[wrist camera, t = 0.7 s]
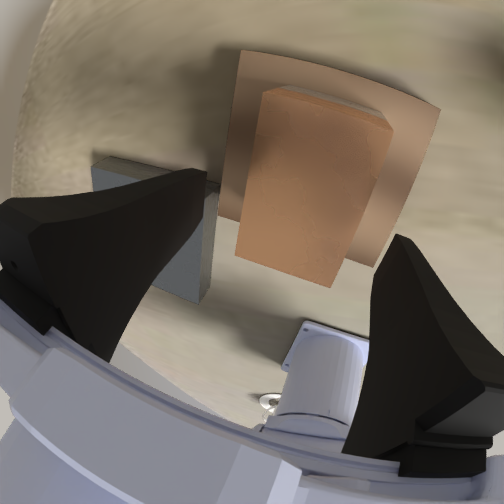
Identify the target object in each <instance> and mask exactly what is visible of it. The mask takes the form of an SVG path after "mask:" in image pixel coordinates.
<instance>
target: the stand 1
mask: <svg viewBox="0 0 504 504" xmlns="http://www.w3.org/2000/svg"><path fill="white" fill-rule="evenodd" d="M171 172H174V171H170V170H166V169H162V168H158V167H154V166H150V165H146V164H142V163H137V162H133V161H129V160H125V159H120V158H116V157H111V156H109V157H107V158H106V159H104V160H102V161H100V162H98V163H96V164H95V165H93V166H91V173H92V182H93V191H100V190H105V189H110V188H114V187H119V186H123V185H127V184H130V183H134V182H138V181H142V180H146V179H149V178H153V177H156V176H160V175H163V174H167V173H171ZM219 193H220V184H218V183H214V182H211V181H207V180H206V188H205V200H204V212H203V218H202V220H201V222H200V223H199V225H198V226H197V228H196V230H195V231H194V233H193V234H192V236H191V237H190V238H189V239H188V241H187V242H186V243H185V244H184V245H183V246H182V248H181V249H180V250H179V251H178V252H177V253H176V255H175V256H174V257H173V258H172V259H171V260H170V261H169V263H168V264H167V265H166V266H165V267H164V269H163V270H162V271H161V272H160V273H159V275H158V276H157V277H156V278H155V280H154V281H153V282H152V284H151V285H153V286H155V287H158V288H160V289H162V290H165V291H167V292H169V293H172V294H174V295H177V296H179V297H181V298H184V299H186V300H189V301H191V302H193V303H196V304H198V305H199V303H200V302H201V300H202V298H203V297H204V295H205V294H206V292H207V291H208V289H209V287H210V279H211V268H212V258H213V247H214V238H215V228H216V219H217V210H218V201H219Z"/></svg>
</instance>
